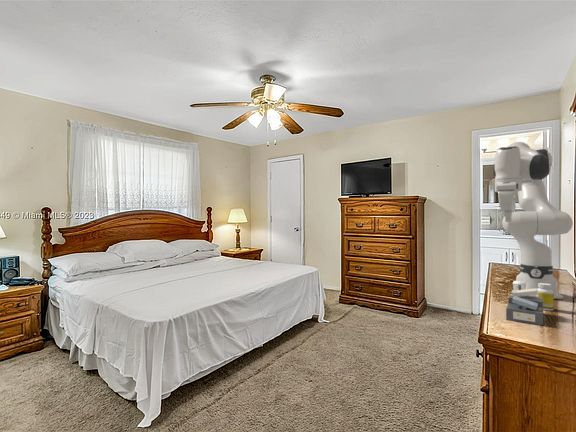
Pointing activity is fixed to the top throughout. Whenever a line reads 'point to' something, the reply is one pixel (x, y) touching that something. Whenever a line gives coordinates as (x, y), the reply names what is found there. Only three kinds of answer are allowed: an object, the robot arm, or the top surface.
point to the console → (525, 311)
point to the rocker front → (524, 302)
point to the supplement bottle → (546, 296)
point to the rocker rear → (526, 292)
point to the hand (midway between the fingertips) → (508, 222)
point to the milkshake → (519, 285)
